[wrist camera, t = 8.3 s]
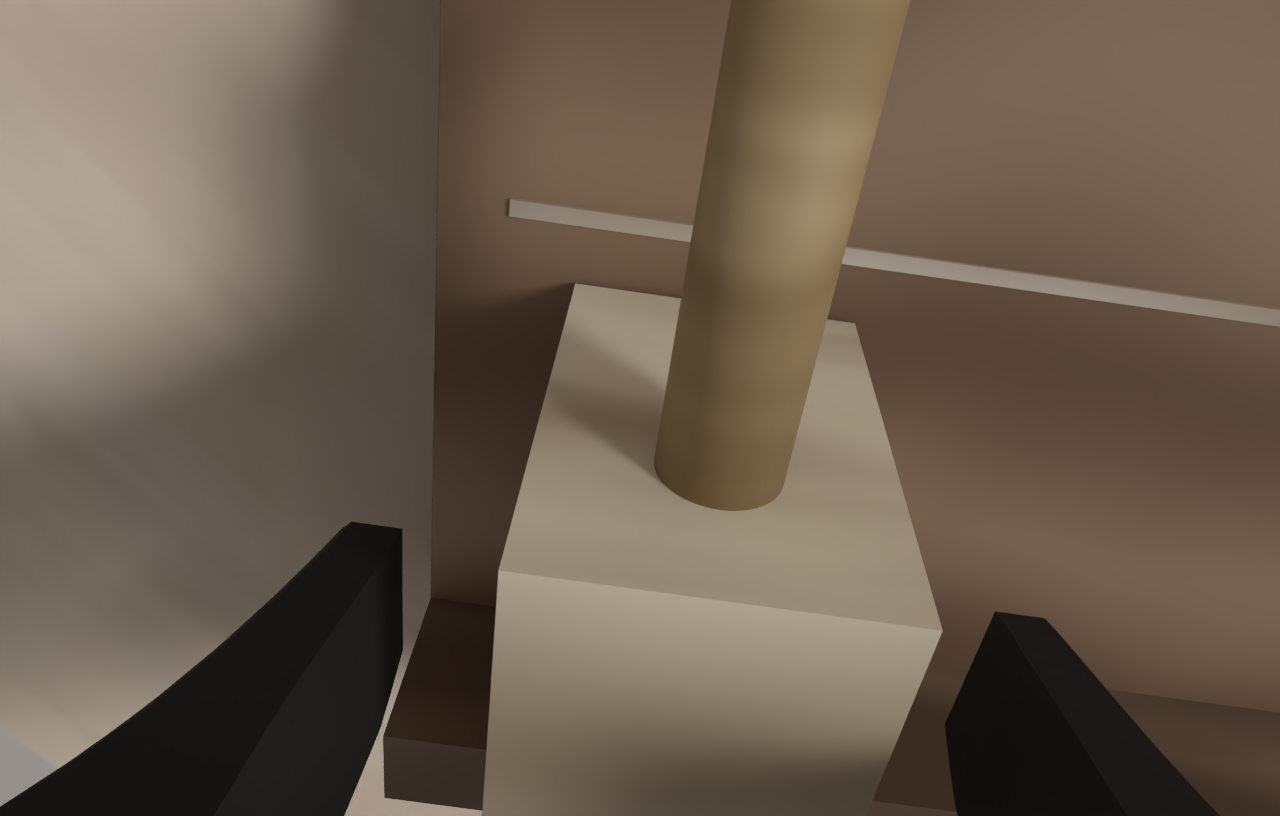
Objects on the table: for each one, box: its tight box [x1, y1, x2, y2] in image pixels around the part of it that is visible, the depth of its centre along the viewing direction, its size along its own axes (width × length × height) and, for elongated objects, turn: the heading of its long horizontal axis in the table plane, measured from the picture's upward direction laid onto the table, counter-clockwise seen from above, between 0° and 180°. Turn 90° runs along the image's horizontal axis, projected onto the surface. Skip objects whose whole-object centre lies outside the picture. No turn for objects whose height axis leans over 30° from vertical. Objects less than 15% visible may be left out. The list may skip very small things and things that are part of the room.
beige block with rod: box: [482, 0, 943, 816], centre depth 11 cm, size 10×4×6 cm, turn 173°
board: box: [383, 0, 1280, 816], centre depth 14 cm, size 14×24×5 cm, turn 83°
